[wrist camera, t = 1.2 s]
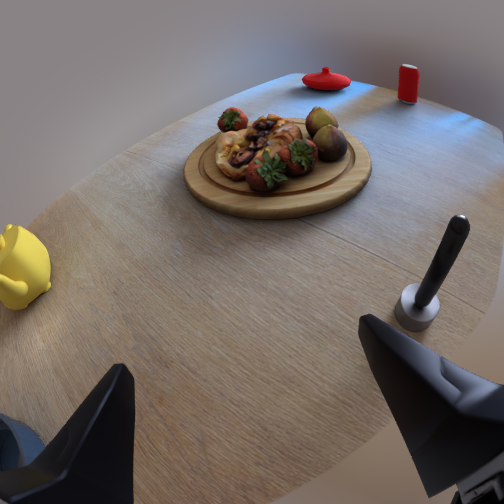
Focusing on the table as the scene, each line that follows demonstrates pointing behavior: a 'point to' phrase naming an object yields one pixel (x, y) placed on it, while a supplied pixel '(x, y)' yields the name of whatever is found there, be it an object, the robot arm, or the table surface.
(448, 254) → the coffee tamper
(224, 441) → the table surface
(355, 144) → the wooden plate
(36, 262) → the teapot
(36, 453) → the bowl
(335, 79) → the red vase
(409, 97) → the beverage can
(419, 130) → the table surface
